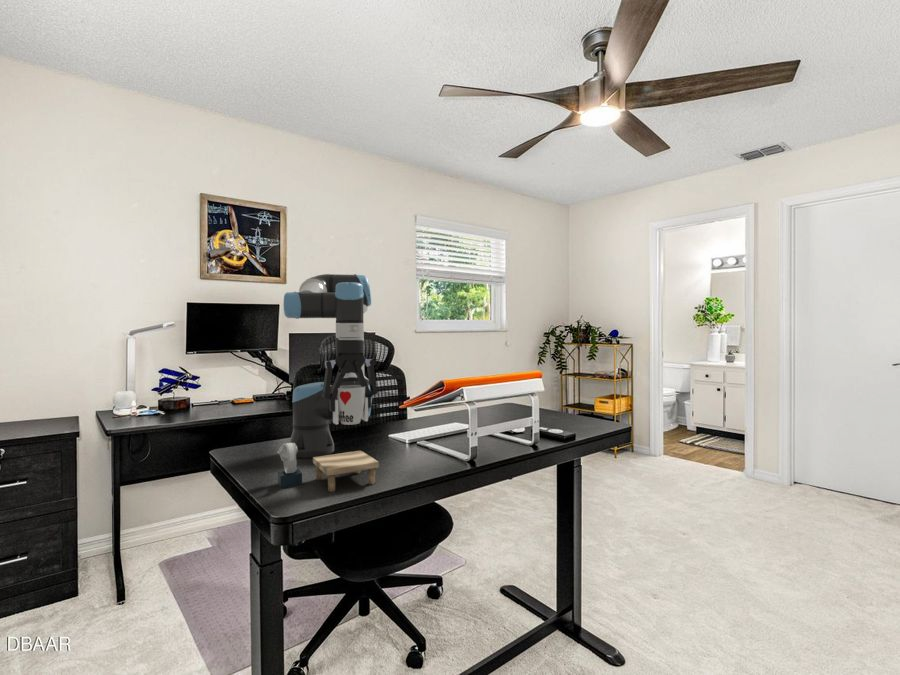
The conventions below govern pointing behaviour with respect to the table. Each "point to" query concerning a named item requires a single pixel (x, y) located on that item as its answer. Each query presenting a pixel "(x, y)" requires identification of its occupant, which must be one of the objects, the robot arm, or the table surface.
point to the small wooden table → (344, 466)
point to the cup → (350, 403)
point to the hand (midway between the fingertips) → (350, 421)
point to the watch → (289, 466)
